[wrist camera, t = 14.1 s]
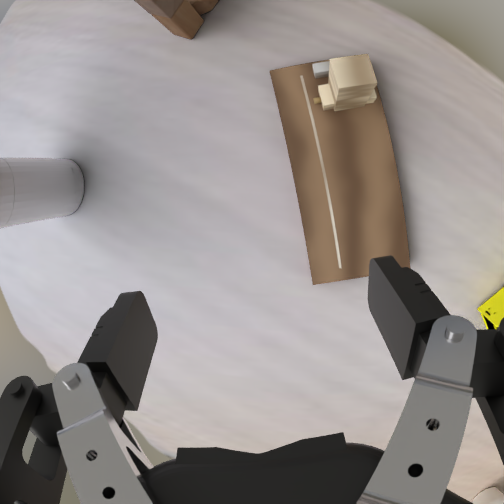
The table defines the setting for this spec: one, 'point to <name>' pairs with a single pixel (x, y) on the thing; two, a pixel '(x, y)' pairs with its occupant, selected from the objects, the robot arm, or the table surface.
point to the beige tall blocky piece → (348, 84)
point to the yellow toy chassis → (493, 310)
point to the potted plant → (489, 497)
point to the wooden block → (179, 14)
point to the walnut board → (341, 177)
